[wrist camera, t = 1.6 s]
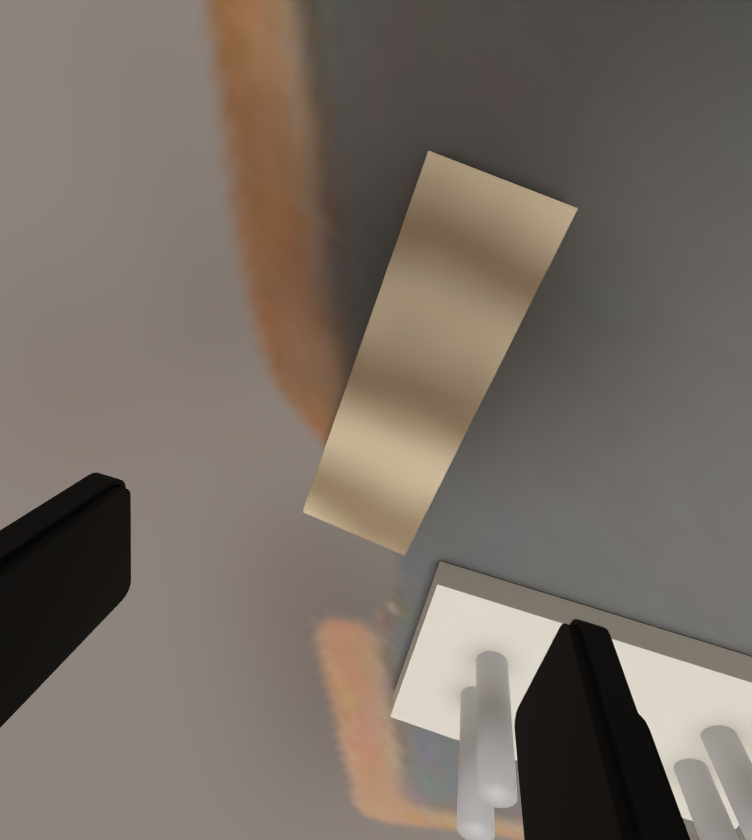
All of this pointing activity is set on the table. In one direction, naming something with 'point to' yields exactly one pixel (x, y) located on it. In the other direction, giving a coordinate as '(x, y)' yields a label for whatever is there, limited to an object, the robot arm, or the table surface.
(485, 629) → the peg stand
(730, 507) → the table surface
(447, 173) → the shelf board
